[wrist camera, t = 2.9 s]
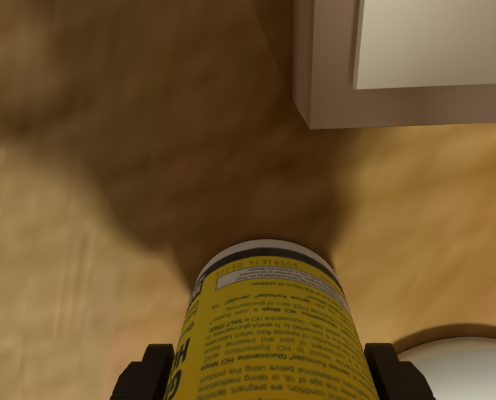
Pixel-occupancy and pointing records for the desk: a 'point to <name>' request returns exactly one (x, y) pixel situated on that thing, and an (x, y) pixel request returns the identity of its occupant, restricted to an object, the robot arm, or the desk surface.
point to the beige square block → (394, 62)
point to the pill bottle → (269, 330)
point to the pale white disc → (457, 367)
